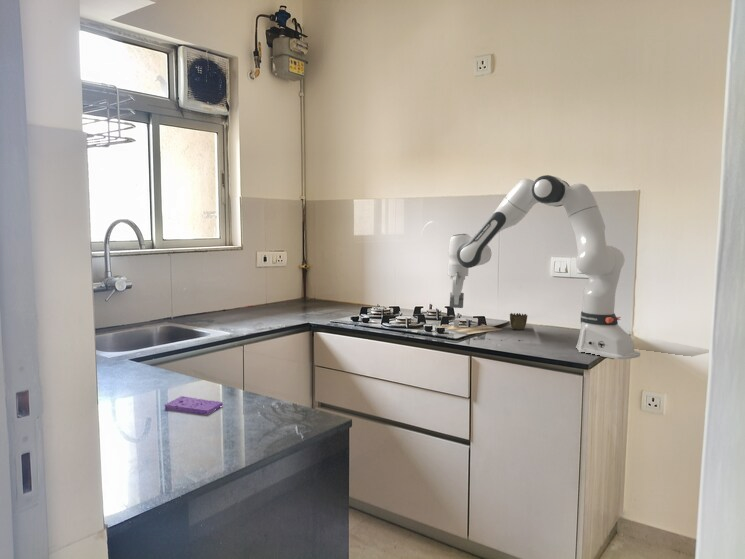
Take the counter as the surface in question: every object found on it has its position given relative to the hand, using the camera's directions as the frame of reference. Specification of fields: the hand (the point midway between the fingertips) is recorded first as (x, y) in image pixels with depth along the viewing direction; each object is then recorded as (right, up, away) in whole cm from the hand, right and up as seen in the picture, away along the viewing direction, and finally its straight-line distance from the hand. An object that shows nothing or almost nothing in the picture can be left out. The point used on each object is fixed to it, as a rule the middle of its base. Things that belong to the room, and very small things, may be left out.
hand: (456, 303), depth 248 cm
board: (+6, -12, 0) cm, 13 cm away
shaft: (0, -10, +1) cm, 10 cm away
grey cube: (0, -2, 0) cm, 2 cm away
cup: (+26, -13, -2) cm, 29 cm away
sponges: (-81, -23, -104) cm, 134 cm away
